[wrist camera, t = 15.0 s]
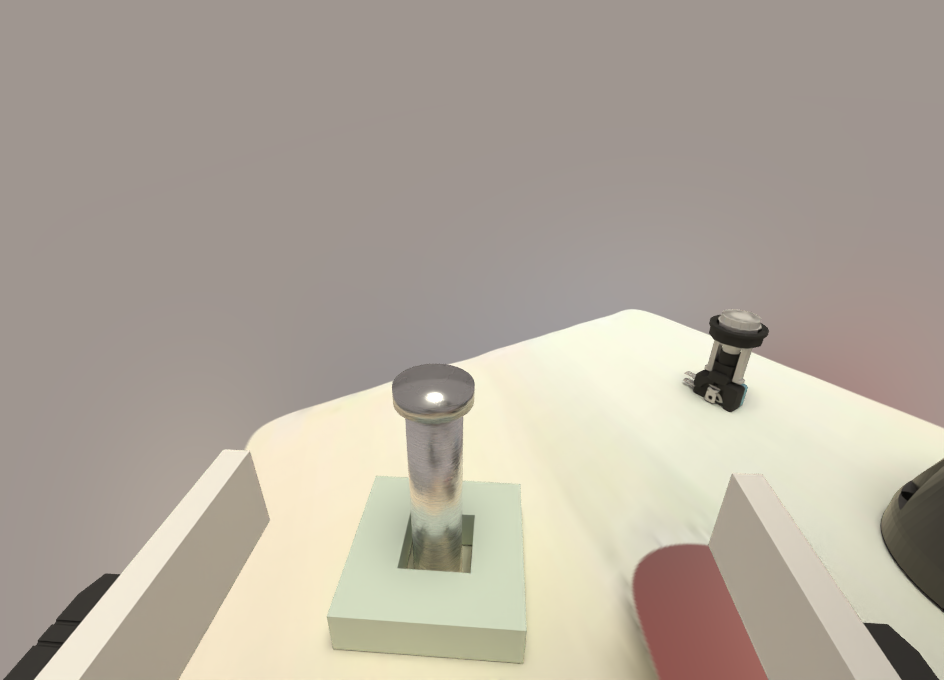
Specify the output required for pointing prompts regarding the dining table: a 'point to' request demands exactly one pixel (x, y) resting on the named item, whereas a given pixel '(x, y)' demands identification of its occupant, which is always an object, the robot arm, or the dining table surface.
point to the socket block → (434, 581)
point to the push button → (729, 358)
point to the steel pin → (435, 459)
